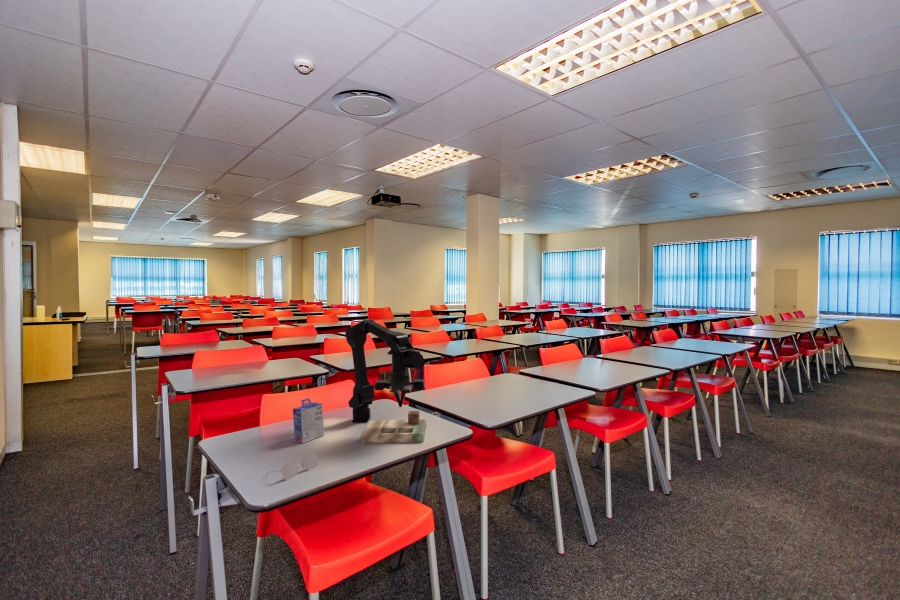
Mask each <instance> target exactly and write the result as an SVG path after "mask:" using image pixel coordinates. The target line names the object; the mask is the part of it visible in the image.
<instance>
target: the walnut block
mask: <svg viewBox="0 0 900 600" xmlns="http://www.w3.org/2000/svg"><path fill="white" fill-rule="evenodd" d="M407 420H408V425H417V424H419V421H420V420H421V418H420V410H410V411H408V413H407Z"/></svg>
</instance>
